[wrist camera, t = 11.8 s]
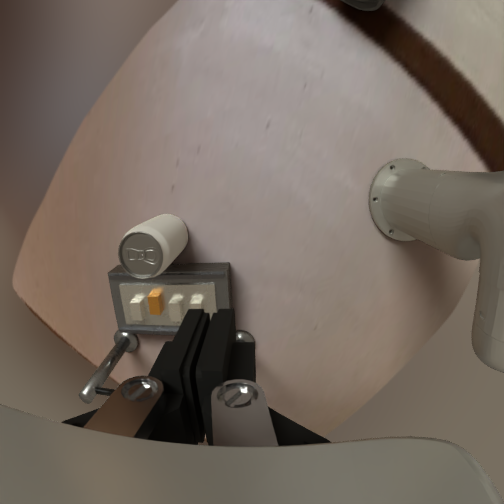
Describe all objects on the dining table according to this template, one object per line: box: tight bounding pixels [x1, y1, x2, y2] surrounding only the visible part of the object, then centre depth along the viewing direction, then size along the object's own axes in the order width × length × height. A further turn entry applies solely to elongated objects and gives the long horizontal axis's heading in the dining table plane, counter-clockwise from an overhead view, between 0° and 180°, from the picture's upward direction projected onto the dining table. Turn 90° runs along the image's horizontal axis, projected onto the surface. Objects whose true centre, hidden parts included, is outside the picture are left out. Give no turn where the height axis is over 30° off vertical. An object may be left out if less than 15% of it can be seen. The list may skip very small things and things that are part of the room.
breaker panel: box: [108, 262, 232, 335], centre depth 46 cm, size 18×10×6 cm, turn 92°
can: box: [118, 214, 188, 279], centre depth 41 cm, size 6×6×12 cm
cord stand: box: [79, 330, 254, 404], centre depth 43 cm, size 24×4×17 cm, turn 92°
